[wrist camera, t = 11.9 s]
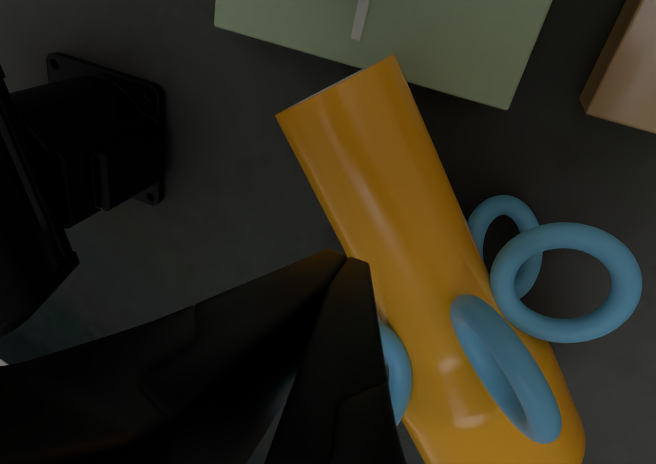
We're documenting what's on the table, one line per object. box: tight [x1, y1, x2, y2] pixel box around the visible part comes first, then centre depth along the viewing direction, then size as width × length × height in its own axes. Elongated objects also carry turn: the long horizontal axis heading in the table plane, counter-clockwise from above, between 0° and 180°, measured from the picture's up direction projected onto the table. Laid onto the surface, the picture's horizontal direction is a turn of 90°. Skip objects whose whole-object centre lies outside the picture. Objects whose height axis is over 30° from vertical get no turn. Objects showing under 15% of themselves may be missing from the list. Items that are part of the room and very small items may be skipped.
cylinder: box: [275, 53, 642, 464], centre depth 16 cm, size 12×10×15 cm
